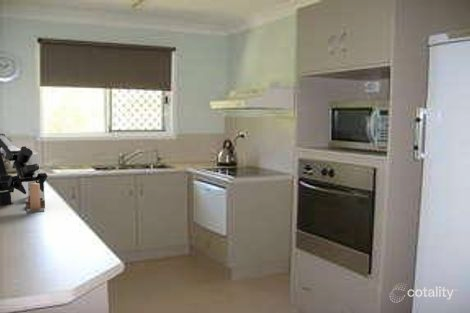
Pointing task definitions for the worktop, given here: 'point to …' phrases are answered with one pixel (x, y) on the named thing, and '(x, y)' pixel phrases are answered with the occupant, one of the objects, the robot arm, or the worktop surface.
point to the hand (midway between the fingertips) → (34, 192)
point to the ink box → (40, 190)
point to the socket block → (42, 203)
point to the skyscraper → (34, 162)
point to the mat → (35, 210)
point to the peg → (35, 196)
